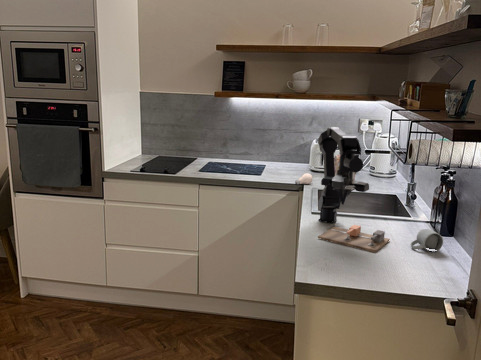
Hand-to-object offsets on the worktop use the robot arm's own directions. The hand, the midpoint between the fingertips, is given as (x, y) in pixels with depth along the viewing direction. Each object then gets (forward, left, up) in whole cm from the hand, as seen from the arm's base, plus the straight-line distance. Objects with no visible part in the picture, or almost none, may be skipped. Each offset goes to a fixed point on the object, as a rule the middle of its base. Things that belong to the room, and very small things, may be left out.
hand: (343, 204), depth 197 cm
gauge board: (+7, -3, -13) cm, 15 cm away
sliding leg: (+6, -3, -11) cm, 13 cm away
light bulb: (-54, +70, -13) cm, 89 cm away
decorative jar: (-39, +93, -13) cm, 102 cm away
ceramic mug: (+33, +6, -13) cm, 36 cm away
